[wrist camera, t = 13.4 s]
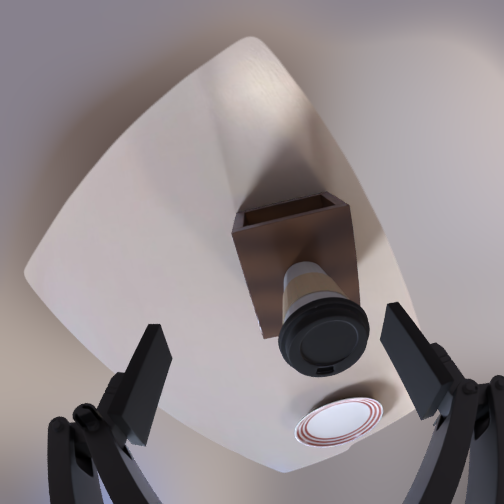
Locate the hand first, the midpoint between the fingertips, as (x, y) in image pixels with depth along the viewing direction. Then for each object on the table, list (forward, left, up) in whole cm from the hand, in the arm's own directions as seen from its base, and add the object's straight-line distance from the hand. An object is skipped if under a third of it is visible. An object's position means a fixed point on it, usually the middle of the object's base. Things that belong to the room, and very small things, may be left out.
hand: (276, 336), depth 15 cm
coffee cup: (+6, +7, -22) cm, 24 cm away
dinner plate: (+55, +37, -34) cm, 75 cm away
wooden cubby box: (+6, +7, -34) cm, 35 cm away
